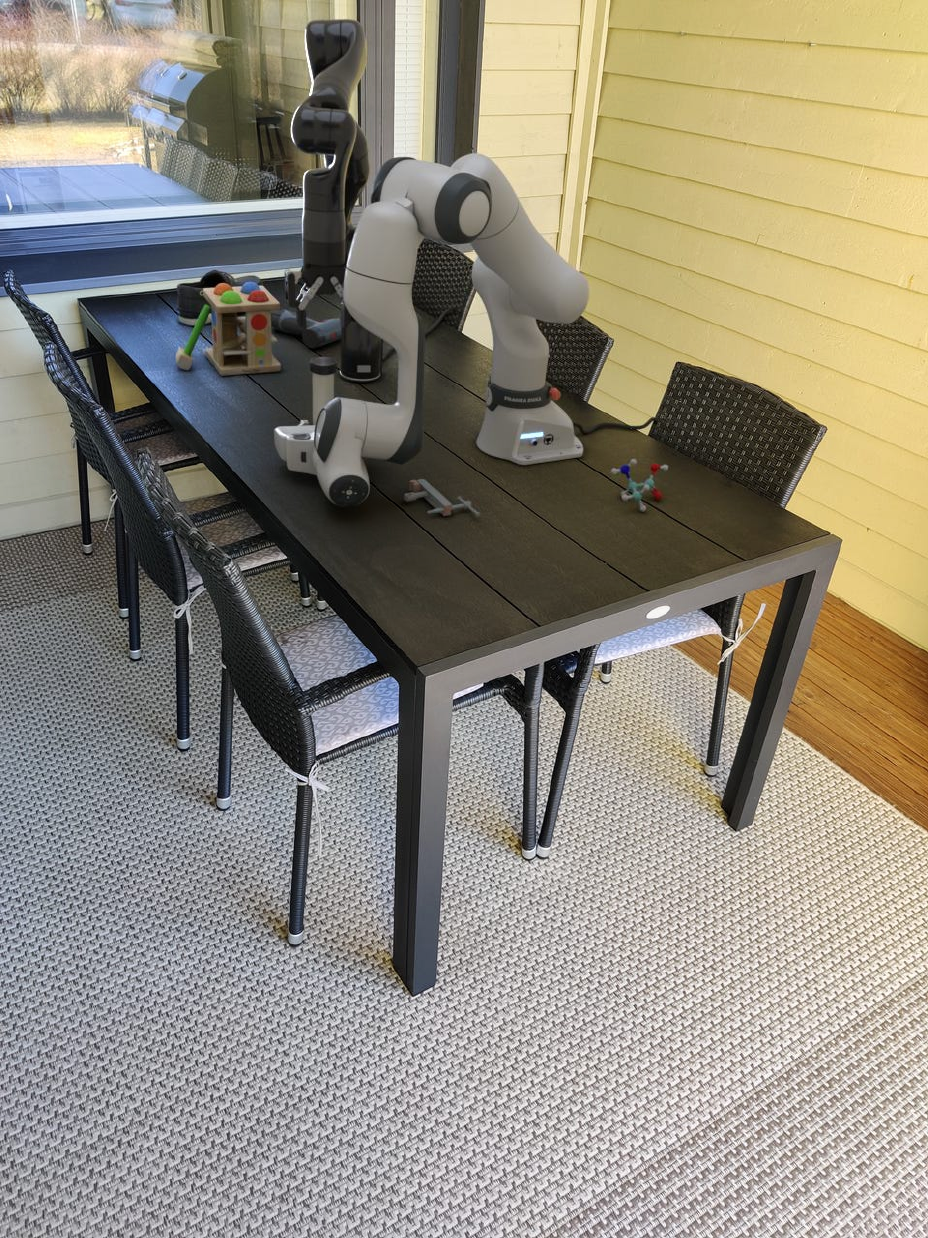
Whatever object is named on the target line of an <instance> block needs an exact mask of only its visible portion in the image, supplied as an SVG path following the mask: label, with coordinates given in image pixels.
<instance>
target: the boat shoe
mask: <svg viewBox="0 0 928 1238" xmlns="http://www.w3.org/2000/svg"><path fill="white" fill-rule="evenodd" d="M247 282H254V283H256V284H257V285H258V286H263V287H264V288H265V285H264V283H263V281H262V279H261V278H260V276H257V275H253V274H252V275H244V276H238V277H234V276H232V275H231V274H230V273H228V272H226V271H222V270H218V269H212V270H209V271H208V272H206V273H205V274H203V276H202V277H201V278H200V280H199V281H193V282H181V283H178V284H177V285H176V290H177V300H176V301H177V305H176V307H175V308H176V311H178V321H179V322H180V323H182V324H184V325H187V326H195V324H196V322H197V320H198V318H199V316H200V314H201V311H202V309H203V307H204V305H208V306H210V307H211V305H210V304H209V302H208V301H207V300H206V299H205V297H204V296H203V289H204V288H215V287H216V286H217V285H218V284H221V283H226V284H228V285H230V286H231V287H242V286H243V285H244V284H245V283H247ZM209 314H211V310H210V312H209ZM210 323H212V322H211V321H210V320H209V318H207V320H206V322H205V325H208V324H210Z"/></svg>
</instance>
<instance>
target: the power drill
mask: <svg viewBox="0 0 928 1238" xmlns="http://www.w3.org/2000/svg"><path fill="white" fill-rule="evenodd" d="M271 328H274V329H276V330H278V331H281V332H284V333H288V334H290V335H296V336H300V337H302V341H303V343H304V344H305V346H306V347H308V348H309V349H316V348H319V347H322V346H325V345H328V344H330V343H333V342H336V341H338V340H341V317H338V318H331V319H324V320H322V321H320V322H319V321H316V320H314V319H312V318H309V317H306V330H302V329H301V328H300V327H299V326H298V325H297V323H296V312H293V311H291V310H288V309H283V308H280V310H271Z"/></svg>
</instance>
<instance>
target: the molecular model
mask: <svg viewBox="0 0 928 1238" xmlns="http://www.w3.org/2000/svg"><path fill="white" fill-rule="evenodd" d="M637 463H638V461H637V459H636V458H631V460H630V461H629V464H627V465H626V464H624V465H622V466H621V467H620V468H618V469H617V468H615V467H612V468H611V469H610V474H611V475H613V476H615V475H617V473H621V474H623V475H625V477H626V478H627V481H628V485H627V489H626V490H622V491H621V492H620V496H621V501H623V502H627V501H628V500H631V499H633V500H634V501H636V502H637V504H638V505H639V511H640V512H642V513H644V512H645V511H646V510H647V506H646V505H644V504H643V501H642V498H643V493H645V492H649V491H650V492H651V493H652V496H653V499H654V500H657V501H659V500H661V499H662V496H663V494H662V492H660V491H658V489H657V488H656V486H655V481H654V476H655V473H656V472H657V471H659V470H662V471H663V472H667V471H668V470H669V465H667V464H663V465H659V464H658V463H656V462H655V463H652V464H651V465H650V470H651V472H650V475H649V478H647V479H646V480H645V481H644V482H640V483H638V482H636V481H633V480H632V477H631V475H630V471H631V470H630V468H632V466H636V465H637ZM638 488H642V489H641V490H640V491H639V490H638ZM630 492H632V494H631V495H630V494H629V493H630ZM628 494H629V495H628Z"/></svg>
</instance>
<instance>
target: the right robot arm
mask: <svg viewBox="0 0 928 1238" xmlns="http://www.w3.org/2000/svg"><path fill="white" fill-rule="evenodd" d="M355 227H356V230H355V233H354V236H353V240H352V243H351V247H350V251H349V255H348V261H347V266H346V271H345V278H344V282H343V299H344V302H345V305H346V308H347V310H348V311H349V313H350V314H351V316H352V317H353V318H354V319H355V320H356V321H357V322H358V323H359V324H360V325H361V326H363V327H364V328H365V329H367V330H368V331H370V332H371V333H373V334H375V335H376V336H378V337H380V338H381V339H383V342H386V343H387V344H388V345H390V346H391V348H394V349H395V352H396V355H397V358H398V367H397V369H398V370H397V399H396V401H395V403H392V404H385V403H378V402H373V401H365V400H362V399H354V398H348V397H339V396H336V397H334V399H332V400H331V401H330V402H329V403H327V404H326V405H325V406H324V407H323V408H322V410H321V411H320V412H319V415H318V418H317V421H316V425H313V424H312V425H311V424H310V422H309V420H308V419H300V421H299V424H298V425H285V426H284V425H281V426H277V427H275V428H274V431H273V439H274V446H275V449H276V452H277V454H278V455H279V457H280V459H282V460H283V461H284V462H286V467H287V469H288V471H291V472H297V473H304V474H305V473H306V474H310V475H314V476H316V478H317V480H318V481H317V482H318V484H319V486H320V488H321V490H322V493H323V494H324V495H325V497H326V498H327V499H328V500H329V501H330V503H332V504H333V505H336V506H339V507H344V508H351V507H355V506H358V505H359V504H362V503H363V502H364V501H365V500H366V499H367V498H368V496H369V495H370V491H371V485H370V484H371V483H370V476H369V472H368V469H367V466H366V464H365V461H364V459H363V458H368V459H376V460H382V461H384V462H389V463H393V464H398V465H404V464H406V463H408V462H409V461H411V460H413V459H415V457H416V456H418V455H419V454H420V452H421V451H422V447H423V443H424V412H423V411H424V410H423V409H424V385H425V383H424V382H425V359H426V358H425V356H426V336H425V332H426V331H425V327H424V326H425V325H424V322H423V318H422V317H421V316H420V315H419V314H418V313H417V312H416V311H415V308H414V304H413V298H412V297H413V296H412V289H413V283H414V279H415V272H416V266H417V256H418V249H419V248H420V245H421V244H422V242H423V241H424V240H425V236H426V237H429V238H433V239H438V240H443V241H445V242H447V243H450V244H457V245H464V244H465V245H466V244H470V246H471V247H472V249H473V251H474V252H475V255H476V258H475V260H474V262H473V264H472V267H471V268H472V269H471V282H472V286H473V288H474V290H475V292H476V293H477V294H478V296H479V297H480V299H481V300H482V302H483V305H484V307H485V310H486V313H487V316H488V320H489V323H490V328H491V334H492V359H491V370H490V371H491V372H490V376H489V377H488V381H487V387H486V391H485V406H486V409H485V413H484V418H483V421H482V425H481V428H480V431H479V434H478V436H477V438H476V441H475V444H476V446H477V447H478V448H479V450H480V451H482V452H483V453H485V454H487V455H489V456H492V457H494V458H499V459H503V460H507V461H510V462H513V463H515V464H517V465H519V466H520V465H521V466H528V465H536V464H542V463H548V462H555V461H562V460H563V461H564V460H569V459H576V458H582V456H583V455H584V446H583V444H582V442H581V440H580V439H579V438H578V437H577V436H576V435H575V429H576V428H578V430H579V432H580V433H581V434H583V435H589V434H591V433H593V432H595V431H597V430H598V429H600V428H605V427H606V428H607V427H609V428H618V429H624V430H632V431H633V430H634V431H638V430H639V431H640V430H644V429H645V428H648V426H650V425H651V424H652V423H653V422H654V423H656V424H658V423H659V420H658V419H657V417H655V416H652V417H650V418H649V419H648V420H647V421H646V422H645V423H643V424H641V425H630V424H629V425H628V424H622V423H617V422H600V423H598V424H595V425H594V426H592V427H591V428H589V429H584V427H583V425H582V424H581V423H579V422H575V421H573V420H572V419H571V417H570V416H569V414H568V413H567V412H566V411H565V410H564V409H562V408H561V407H560V406H559V405H558V404H557V403H555V402H554V401H558V400H559V399H560V398H561V397H562V396H561V394H562V393H561V391H559V389H558V388H556V387H554V386H553V385H552V384H551V383H549V382H548V381H547V379H546V378H547V371H548V363H549V356H550V345H549V342H548V341H547V338H546V337H545V336H544V334H543V333H542V331H541V330H540V329H539V326H538V324H537V320H539V321H542V322H543V323H548V324H549V323H550V324H559V325H569V324H572V323H574V322H575V321H577V320H578V319H579V318H580V317H582V315H583V314H584V311H585V310H586V308H587V305H588V303H589V299H590V285H589V282H588V278H587V277H586V275H584V273H582V272H580V271H579V270H577V269H576V268H575V267H573V265H571V264H570V263H569V262H568V261H567V260H566V259H564V258H563V257H562V256H561V254H559V252H558V251H556V249H555V248H554V247H553V246H552V245H551V244H550V243H549V242H548V240H546V238H545V237H544V236H543V235H542V234H541V233H540V232H539V231H538V229H537V228H536V227H535V226H534V224H533V223H532V221H531V219H530V218H529V215H528V213H527V212H526V210H525V208H524V206H523V204H522V202H521V200H520V198H519V196H518V195H517V193H516V191H515V190H514V188H513V186H512V184H511V182H510V181H509V180H508V178H507V177H506V175H505V174H504V173H503V171H502V170H501V169H500V168H499V166H498V165H497V164H496V163H495V162H494V160H493V159H492V158H490V157H489V156H487V155H485V154H483V153H479V152H477V153H476V152H475V153H474V152H473V153H467V154H465V155H463V156H461V157H459V158H458V159H456V160H455V161H454V162H453V164H451V166H448V165H445V164H442V163H438V162H432V161H427V160H422V159H421V160H420V159H416V158H415V157H411V156H396V157H392V158H390V159H388V160H386V161H385V162H384V163H383V164H382V165H381V166H380V168H379V169H378V171H377V173H376V174H375V177H374V181H373V183H372V188H371V195H370V204H368V205H367V206H366V207H365V208H364V209H363V210H362V211H361V214H360V216H359V219H358V221H357V225H356V226H355ZM655 419H657V420H655ZM631 428H632V429H631Z"/></svg>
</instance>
